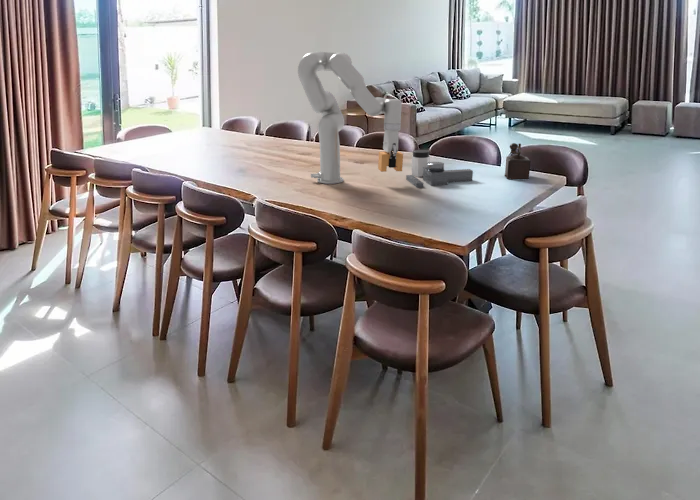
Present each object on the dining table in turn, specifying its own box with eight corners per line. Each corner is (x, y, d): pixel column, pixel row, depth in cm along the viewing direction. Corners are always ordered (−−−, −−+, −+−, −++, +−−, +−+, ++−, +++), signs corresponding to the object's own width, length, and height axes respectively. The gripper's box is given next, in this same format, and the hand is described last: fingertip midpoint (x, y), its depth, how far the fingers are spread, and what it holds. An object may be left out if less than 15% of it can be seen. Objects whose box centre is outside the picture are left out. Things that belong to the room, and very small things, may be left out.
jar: (427, 173, 318) (428, 149, 314) (431, 176, 311) (431, 152, 307) (410, 173, 317) (410, 149, 313) (413, 177, 310) (413, 152, 306)
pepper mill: (503, 174, 313) (505, 138, 307) (525, 175, 312) (528, 138, 306) (507, 182, 298) (510, 144, 292) (531, 182, 297) (534, 144, 291)
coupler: (417, 187, 289) (417, 168, 286) (406, 179, 305) (406, 160, 302) (477, 184, 294) (478, 165, 291) (463, 176, 311) (464, 158, 308)
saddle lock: (381, 171, 290) (381, 154, 287) (378, 168, 295) (378, 151, 292) (402, 171, 291) (403, 154, 289) (398, 168, 297) (399, 151, 294)
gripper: (379, 123, 294) (378, 162, 300) (388, 129, 278) (387, 170, 284) (395, 123, 295) (393, 161, 301) (405, 129, 279) (403, 169, 285)
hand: (390, 165), depth 293 cm, fingers closed on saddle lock, 6 cm apart
